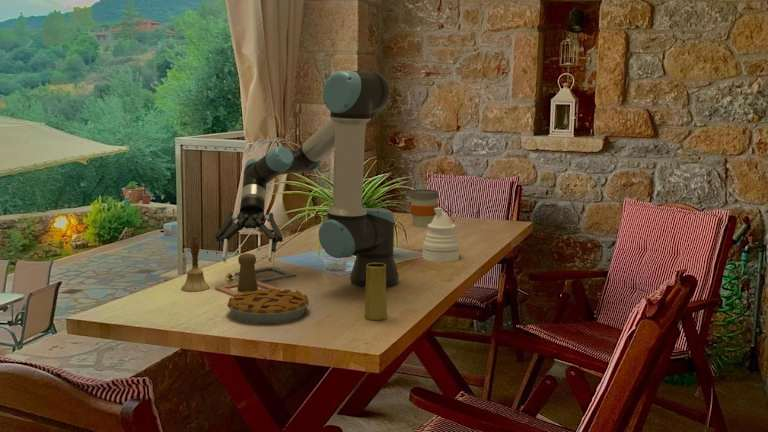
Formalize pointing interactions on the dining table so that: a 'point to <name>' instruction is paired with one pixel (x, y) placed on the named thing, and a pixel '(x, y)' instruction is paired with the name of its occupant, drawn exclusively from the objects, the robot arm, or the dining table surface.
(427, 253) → the honey pot
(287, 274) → the frame
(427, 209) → the reusable coffee cup
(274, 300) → the pie
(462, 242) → the dining table surface
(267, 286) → the frame
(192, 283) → the hand bell
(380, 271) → the vase
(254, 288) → the cork
